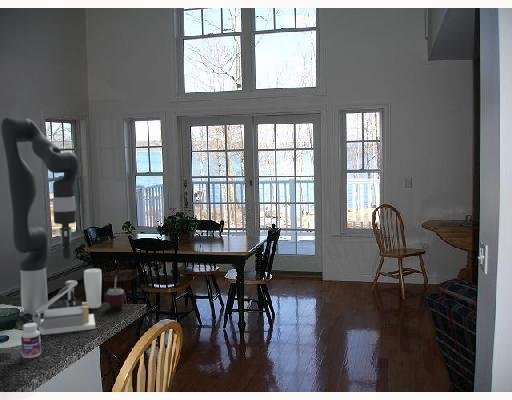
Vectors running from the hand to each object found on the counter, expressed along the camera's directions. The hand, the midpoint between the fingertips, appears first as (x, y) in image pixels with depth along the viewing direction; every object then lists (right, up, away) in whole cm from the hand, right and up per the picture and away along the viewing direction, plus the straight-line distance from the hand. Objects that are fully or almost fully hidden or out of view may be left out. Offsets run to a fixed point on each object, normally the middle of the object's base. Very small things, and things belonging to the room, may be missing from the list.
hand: (66, 256), depth 194 cm
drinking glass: (+2, -23, +25) cm, 34 cm away
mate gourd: (+12, -23, +22) cm, 34 cm away
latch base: (-2, -25, +2) cm, 26 cm away
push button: (-8, -23, +27) cm, 36 cm away
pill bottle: (-3, -28, -24) cm, 37 cm away
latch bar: (-4, -15, 0) cm, 16 cm away
